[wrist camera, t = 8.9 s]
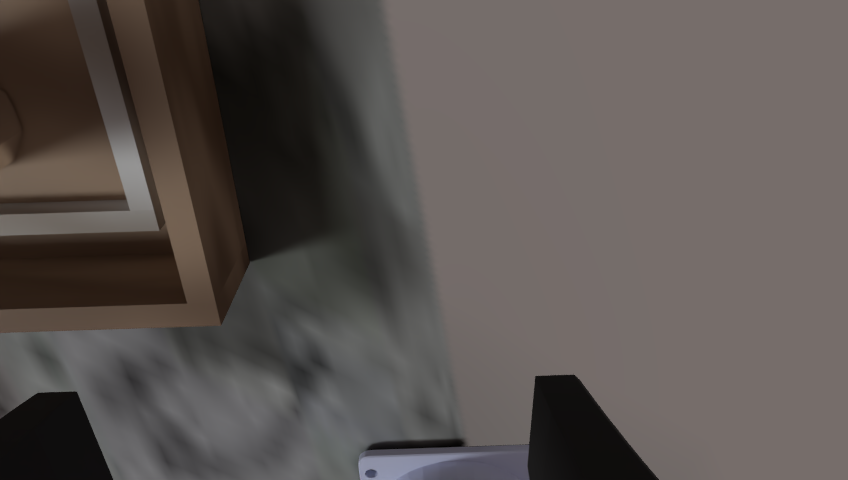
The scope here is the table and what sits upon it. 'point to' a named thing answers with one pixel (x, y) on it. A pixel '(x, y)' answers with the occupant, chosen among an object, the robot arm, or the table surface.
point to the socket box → (114, 170)
